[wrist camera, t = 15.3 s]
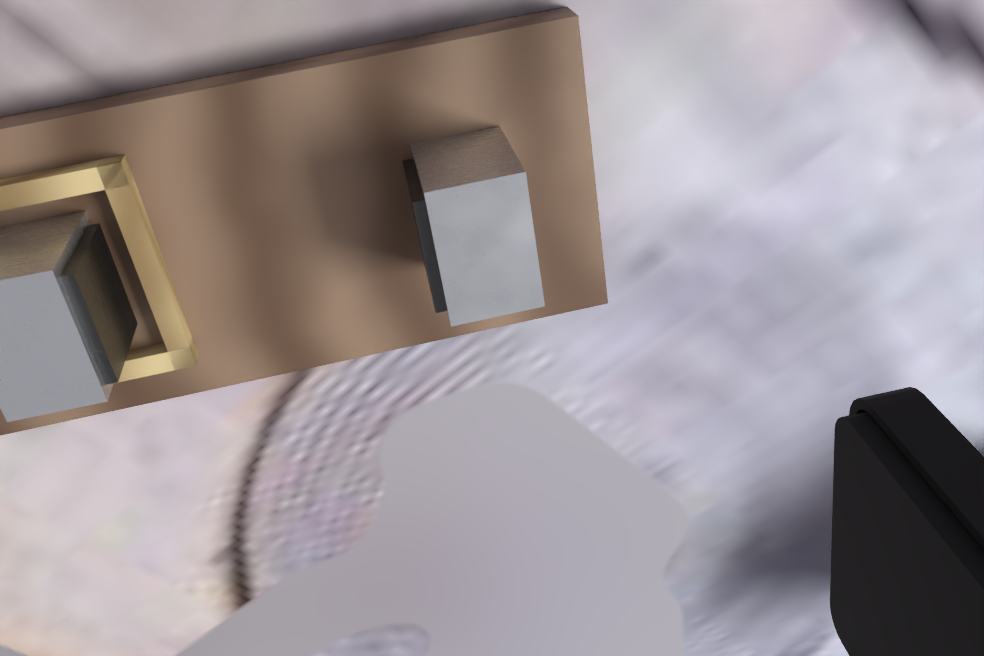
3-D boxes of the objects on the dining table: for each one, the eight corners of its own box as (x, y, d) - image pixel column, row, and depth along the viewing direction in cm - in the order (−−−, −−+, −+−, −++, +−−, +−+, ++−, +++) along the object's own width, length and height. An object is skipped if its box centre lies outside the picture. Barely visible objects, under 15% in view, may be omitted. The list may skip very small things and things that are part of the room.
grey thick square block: (97, 208, 40) (65, 267, 35) (142, 328, 43) (119, 399, 38) (-10, 228, 40) (-58, 291, 35) (44, 347, 43) (7, 422, 38)
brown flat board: (567, 6, 41) (584, 20, 39) (597, 285, 48) (613, 312, 46) (-129, 143, 40) (-160, 166, 37) (8, 412, 47) (-10, 448, 44)
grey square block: (499, 125, 42) (525, 171, 36) (518, 247, 45) (545, 306, 39) (398, 146, 41) (411, 195, 36) (424, 267, 44) (439, 329, 39)
